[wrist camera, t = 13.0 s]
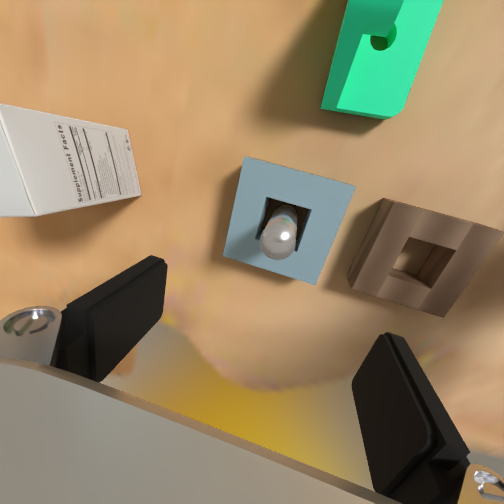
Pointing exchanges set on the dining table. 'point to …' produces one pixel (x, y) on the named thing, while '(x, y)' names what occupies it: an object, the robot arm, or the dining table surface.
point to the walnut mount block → (437, 265)
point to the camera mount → (378, 56)
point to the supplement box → (61, 163)
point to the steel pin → (280, 233)
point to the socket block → (294, 192)
